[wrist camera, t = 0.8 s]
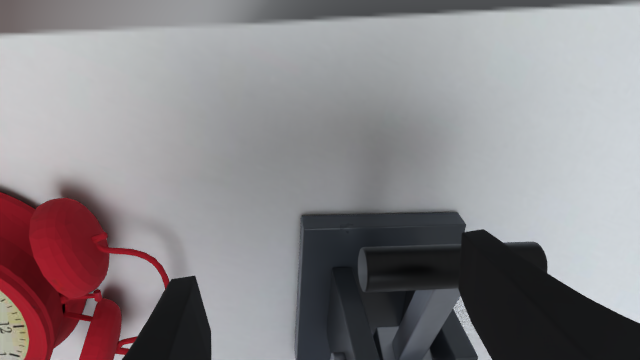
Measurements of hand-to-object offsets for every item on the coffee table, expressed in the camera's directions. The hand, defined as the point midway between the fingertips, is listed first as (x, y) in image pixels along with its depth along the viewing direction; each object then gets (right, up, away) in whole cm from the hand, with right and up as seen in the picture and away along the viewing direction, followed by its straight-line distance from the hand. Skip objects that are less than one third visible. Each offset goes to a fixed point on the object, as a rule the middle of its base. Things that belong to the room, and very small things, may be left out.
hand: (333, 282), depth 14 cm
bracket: (+2, -3, +14) cm, 14 cm away
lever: (+3, -2, +7) cm, 8 cm away
